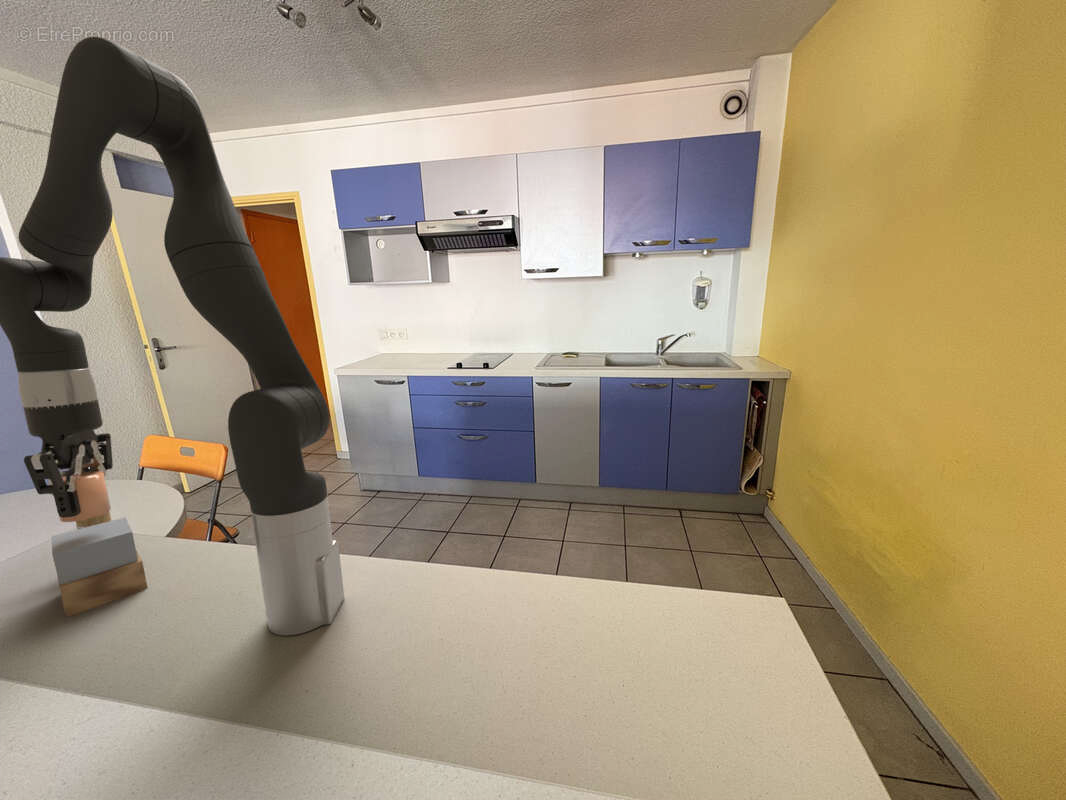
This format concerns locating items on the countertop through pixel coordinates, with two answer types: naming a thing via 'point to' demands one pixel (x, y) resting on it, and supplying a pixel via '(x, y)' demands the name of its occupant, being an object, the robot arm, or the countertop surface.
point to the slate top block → (93, 550)
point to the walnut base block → (103, 587)
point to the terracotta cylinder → (90, 496)
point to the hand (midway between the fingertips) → (84, 507)
